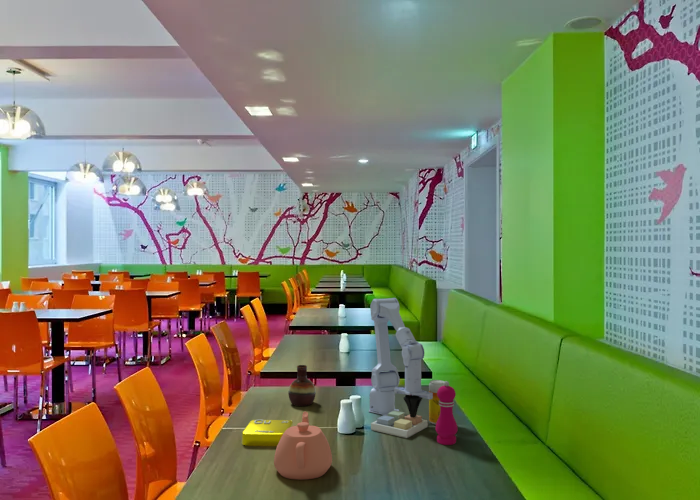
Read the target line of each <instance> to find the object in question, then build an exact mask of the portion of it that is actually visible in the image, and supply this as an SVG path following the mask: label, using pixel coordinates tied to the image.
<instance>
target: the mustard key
mask: <svg viewBox="0 0 700 500" xmlns="http://www.w3.org/2000/svg"><path fill="white" fill-rule="evenodd" d="M411 427H412V421H409V420H405V419H399V420H397V421H395V422H394V428H399V429H403V430H407V429H409V428H411Z"/></svg>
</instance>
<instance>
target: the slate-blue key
mask: <svg viewBox="0 0 700 500" xmlns="http://www.w3.org/2000/svg"><path fill="white" fill-rule="evenodd" d="M376 421H377V424H381V425H385V426H391V425H393V424H394V422H395V417H390V416H387V415H381V416H379V417H377V418H376Z"/></svg>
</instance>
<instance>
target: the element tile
mask: <svg viewBox="0 0 700 500" xmlns="http://www.w3.org/2000/svg"><path fill="white" fill-rule="evenodd" d="M292 426H294V423H293V421H292V420H291V419H288V420H286V419H252V420H250V421H249V422H248V424H247V425H246V426H245V427H244V429H243V430H242V432H241V445H242V446H244V445H245V447H246V446H247V447H277V445H278V443H279V441H280V439H281V437H282V435H283V434H284V432H285V431H286V430H287V429H288V428H290V427H292Z"/></svg>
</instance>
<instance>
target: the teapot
mask: <svg viewBox="0 0 700 500" xmlns="http://www.w3.org/2000/svg"><path fill="white" fill-rule="evenodd" d="M301 418H302V419H301V421H300V422H298V423H297V424H296V425H293V426H292V427H290V428H288V429H287V430H286V431H285V432H284V434H283V435H282V437H281V439H280V441H279V443H278V445H277V446H276V449H275V453H274V457H273V464H274V469H276V471H277V472H278V474H279V475H280V476H282V477H283V478H286V479H289V480H311V479H312V480H313V479H317V478H321V477H322V476H323V475H325V474H326V473H327V472H328V470H329V469H330V467H331V466H332V464H333V455H332V450H331V446H330V443H329V441H328V439H327V437H326V435H325V433H324V432H323V430H322V429H321V428H320V427H319V426H317V425H316V426H315V425H310V423H309V422H310V421H309V412H308V411H303V412H302V416H301Z"/></svg>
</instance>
